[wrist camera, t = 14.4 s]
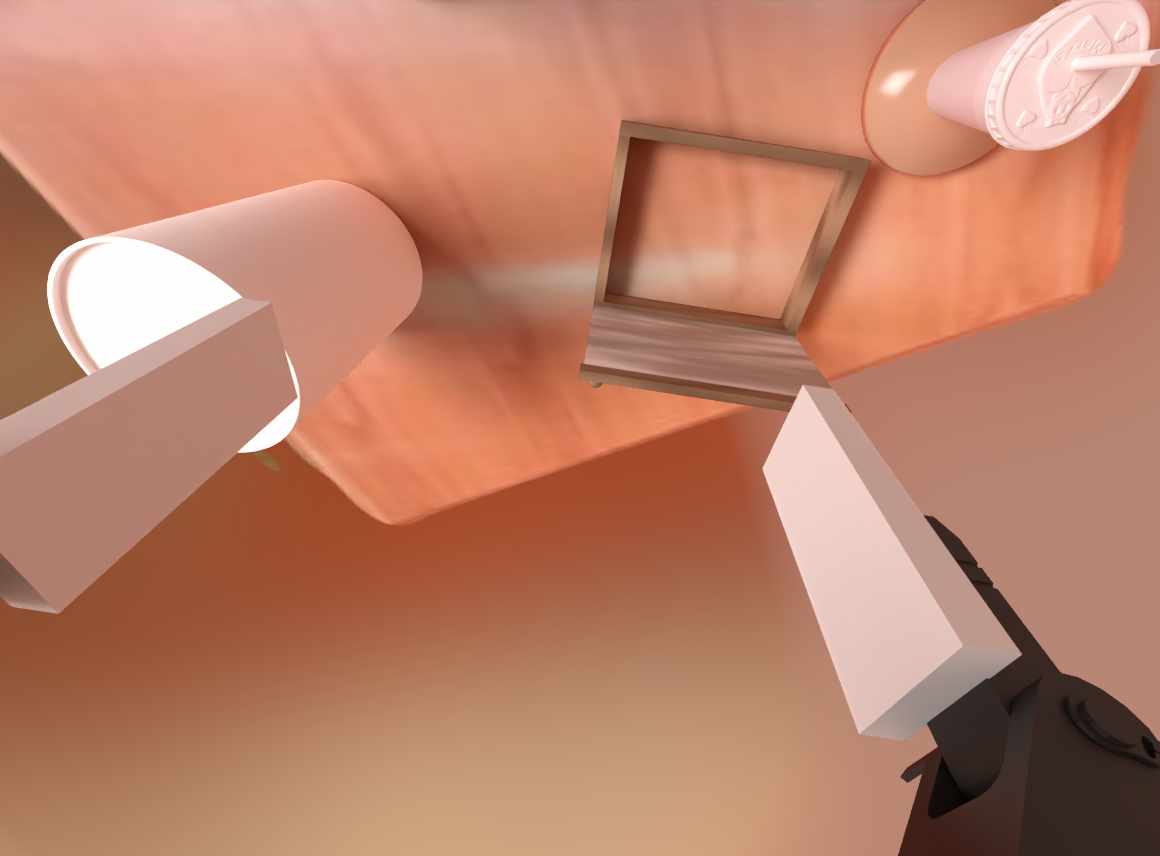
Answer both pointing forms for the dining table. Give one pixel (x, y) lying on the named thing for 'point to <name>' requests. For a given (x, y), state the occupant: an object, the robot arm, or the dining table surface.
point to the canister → (248, 283)
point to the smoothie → (1046, 74)
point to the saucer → (904, 69)
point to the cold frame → (706, 336)
